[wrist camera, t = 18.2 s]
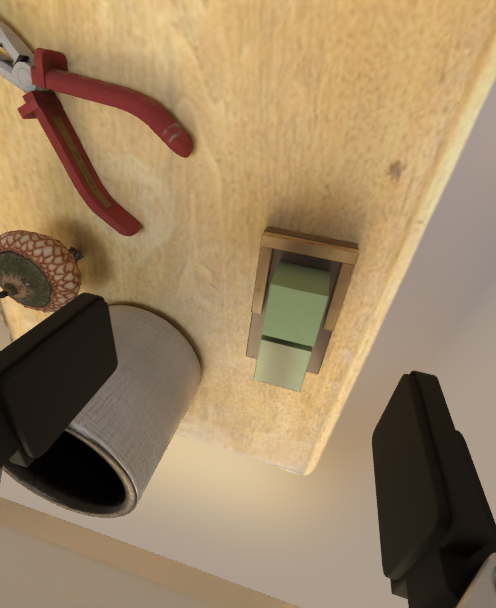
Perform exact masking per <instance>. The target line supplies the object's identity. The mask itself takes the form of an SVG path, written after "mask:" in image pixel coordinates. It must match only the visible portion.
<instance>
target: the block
mask: <svg viewBox="0 0 496 608" xmlns="http://www.w3.org/2000/svg"><path fill="white" fill-rule="evenodd" d="M329 284H330V272H329V271H324V270H319V269H314V268H309V267H305V266H300V265H295V264H290V263H285V262H281V261H280V262H279V264H278V267H277V269H276V272H275V274H274V277H273V279H272V282H271V284H270V290H269V295H268V301H267V307H266V313H265V318H264V324H263V330H262V335H266V336H270V337H274V338H279V339H283V340H287V341H291V342H295V343H299V344H303V345H307V346H311V347H314V345H315V342H316V338H317V335H318V332H319V328H320V325H321V321H322V318H323V315H324V311H325V308H326V304H327V301H328V298H329Z"/></svg>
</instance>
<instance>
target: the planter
mask: <svg viewBox="0 0 496 608" xmlns="http://www.w3.org/2000/svg"><path fill="white" fill-rule="evenodd" d="M108 307H109V313H110V318H111V324H112V330H113V336H114V342H115V347H116V353H117V359H118V365H117V368H116V370H115V372H114V373H113V374H112V375H111V377H110V378H109V379H108V380H107V381H106V382H105V384H104V385H103V386H102V387H101V388H100V389H99V390H98V392H97V393H96V394H95V395H94V396H93V397H92V399H91V400H90V401H89V402H88V403H87V404H86V406H85V407H84V408H83V409H82V410H81V411H80V413H79V414H78V415H77V416H76V417H75V418H74V420H73V421H72V422H71V423H70V424H69V425H68V427H67V428H66V429H65V430H64V431H63V432H62V433H61V435H60V436H59V437H58V438H57V439H56V440H55V442H54V443H53V444H52V445H51V446H50V447H49V449H48V450H47V451H46V452H45V453H44V454H43V455H42V456H41V457H39V458H35V459H34V460H33V462H32V463H31V464H30V465H29V466H28V467H27V468H26V467H24V466H21V465H18V464H15V463H12V462H11V461H10V459H9V460H8V461H7V462H6V463H5V465H4V466H3V467H2V470H4V471H5V472H6V473H7V474H8V475H10V476H11V477H12V478H13V479H15V480H16V481H17V482H18V483H20V484H21V485H23V486H24V487H26V488H27V489H28V490H30V491H32V492H34V493H35V494H37V495H38V496H40V497H42V498H44V499H46V500H48V501H50V502H52V503H54V504H56V505H58V506H61V507H63V508H66V509H68V510H71V511H74V512H77V513H80V514H84V515H88V516H93V517H100V518H115V517H121V516H124V515H127V514H129V513H130V512H131V511H133V510H134V509H135V507H136V506H137V504H138V502H139V500H140V498H141V496H142V494H143V492H144V490H145V488H146V486H147V484H148V483H149V481H150V479H151V477H152V475H153V473H154V471H155V469H156V467H157V465H158V463H159V462H160V460H161V458H162V456H163V454H164V452H165V450H166V448H167V447H168V445H169V443H170V441H171V439H172V437H173V435H174V433H175V432H176V430H177V428H178V426H179V424H180V422H181V420H182V419H183V417H184V415H185V413H186V411H187V409H188V407H189V405H190V404H191V402H192V400H193V398H194V396H195V394H196V392H197V389H198V386H199V383H200V376H201V373H200V365H199V362H198V359H197V356H196V354H195V352H194V350H193V348H192V347H191V345H190V344H189V342H188V341H187V340H186V339H185V337H184V336H183V335H182V334H181V333H180V332H179V331H178V330H177V329H176V328H175V327H173V326H172V325H171V324H170V323H168V322H167V321H166V320H164V319H162V318H161V317H159V316H157V315H155V314H153V313H151V312H149V311H146V310H144V309H140V308H137V307H132V306H126V305H113V306H108Z"/></svg>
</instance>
